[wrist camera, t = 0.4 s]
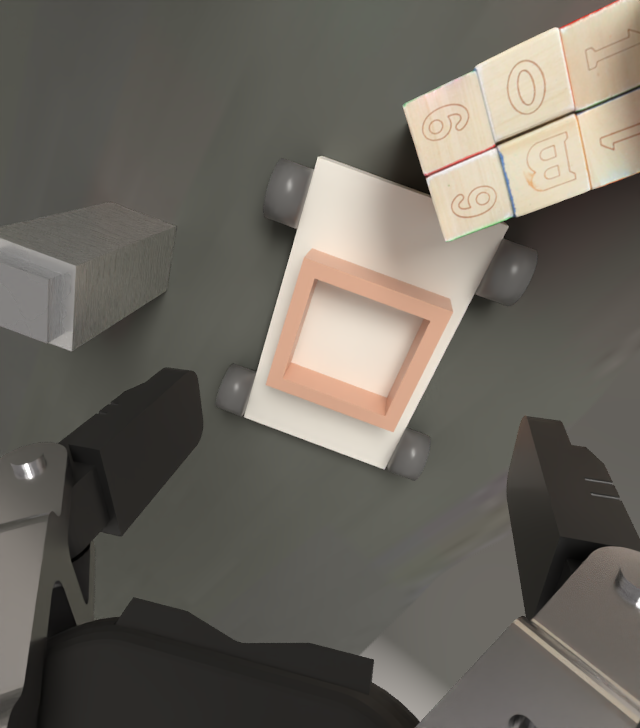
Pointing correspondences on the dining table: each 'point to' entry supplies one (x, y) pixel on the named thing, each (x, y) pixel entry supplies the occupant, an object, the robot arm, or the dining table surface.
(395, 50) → the dining table surface
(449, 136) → the stack of blocks
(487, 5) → the dining table surface
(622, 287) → the dining table surface
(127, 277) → the grey tall block
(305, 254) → the chassis
